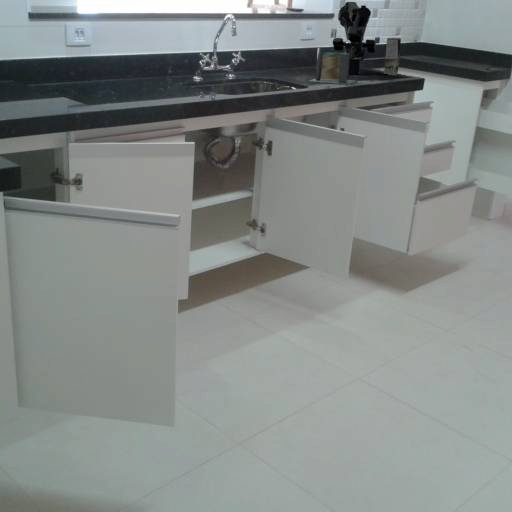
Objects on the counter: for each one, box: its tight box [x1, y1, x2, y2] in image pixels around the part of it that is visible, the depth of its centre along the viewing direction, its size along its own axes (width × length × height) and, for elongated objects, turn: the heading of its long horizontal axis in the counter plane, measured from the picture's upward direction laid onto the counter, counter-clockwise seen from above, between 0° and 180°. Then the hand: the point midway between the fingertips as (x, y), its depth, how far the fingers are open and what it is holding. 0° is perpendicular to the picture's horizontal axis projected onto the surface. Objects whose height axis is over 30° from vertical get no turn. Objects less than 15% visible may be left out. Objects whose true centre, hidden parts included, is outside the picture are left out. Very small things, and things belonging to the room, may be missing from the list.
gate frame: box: [315, 47, 349, 84], centre depth 302 cm, size 14×2×14 cm, turn 59°
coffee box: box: [383, 37, 402, 76], centre depth 334 cm, size 9×6×16 cm
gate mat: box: [308, 77, 357, 85], centre depth 307 cm, size 18×11×1 cm, turn 67°
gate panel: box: [321, 52, 350, 80], centre depth 306 cm, size 12×1×11 cm, turn 95°
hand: (350, 60), depth 311 cm, fingers closed
